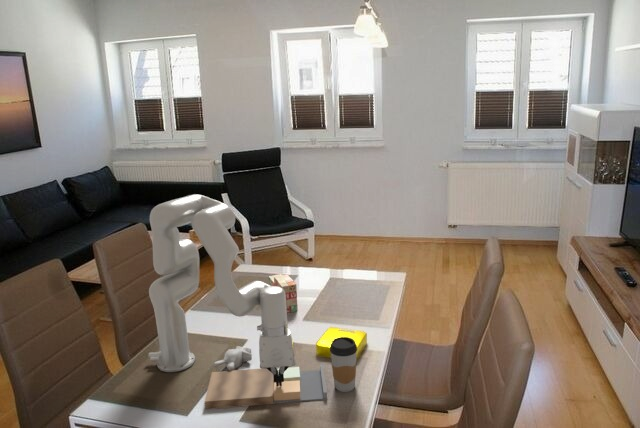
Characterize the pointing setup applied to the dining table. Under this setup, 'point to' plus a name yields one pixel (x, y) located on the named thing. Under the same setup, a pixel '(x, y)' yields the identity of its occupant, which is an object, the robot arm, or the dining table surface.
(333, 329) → the element tile
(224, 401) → the board
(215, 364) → the bunny figurine
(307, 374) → the grey square tray
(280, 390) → the light orange flat block
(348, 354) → the coffee cup
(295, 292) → the stack of blocks
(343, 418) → the dining table surface
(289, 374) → the sage tile
